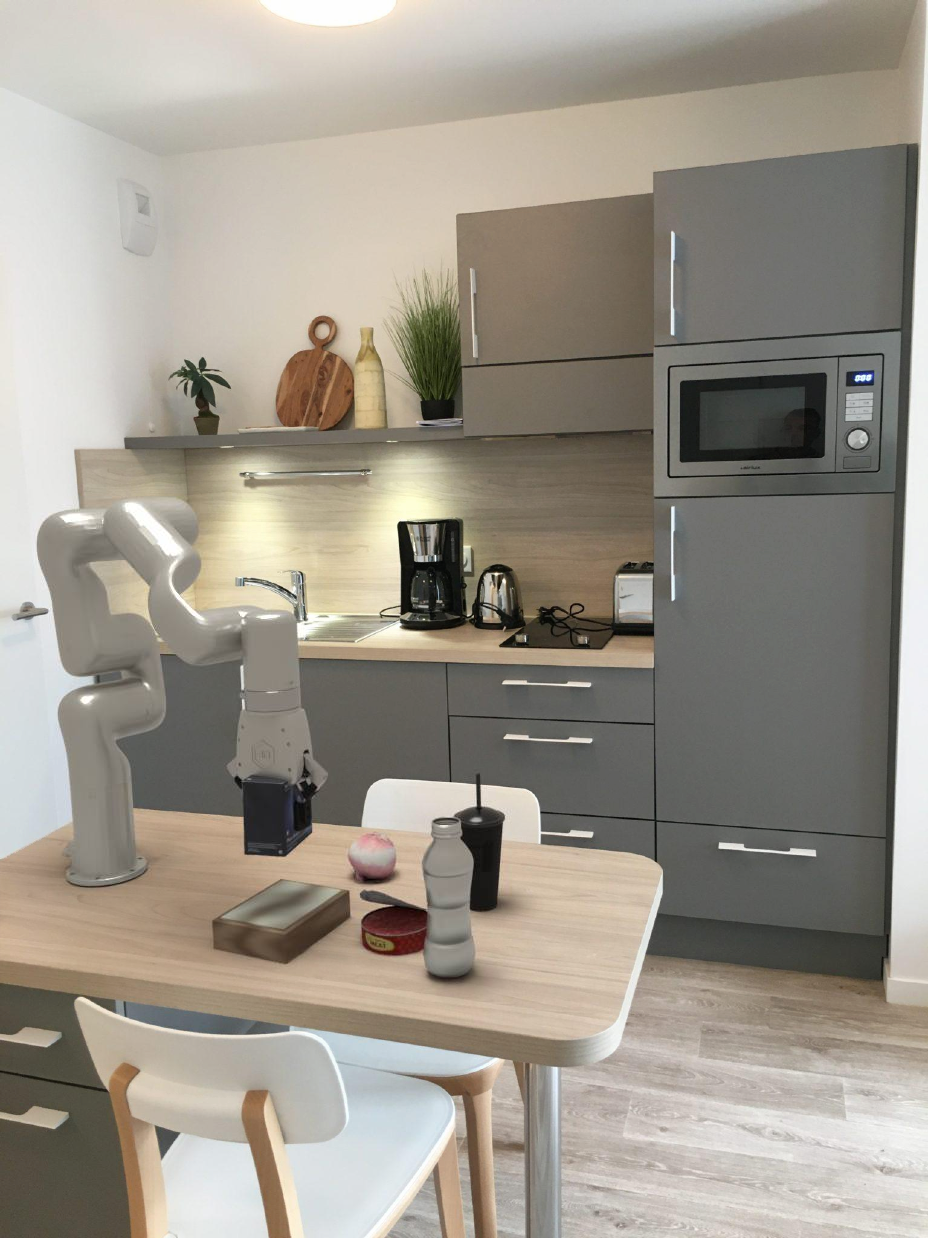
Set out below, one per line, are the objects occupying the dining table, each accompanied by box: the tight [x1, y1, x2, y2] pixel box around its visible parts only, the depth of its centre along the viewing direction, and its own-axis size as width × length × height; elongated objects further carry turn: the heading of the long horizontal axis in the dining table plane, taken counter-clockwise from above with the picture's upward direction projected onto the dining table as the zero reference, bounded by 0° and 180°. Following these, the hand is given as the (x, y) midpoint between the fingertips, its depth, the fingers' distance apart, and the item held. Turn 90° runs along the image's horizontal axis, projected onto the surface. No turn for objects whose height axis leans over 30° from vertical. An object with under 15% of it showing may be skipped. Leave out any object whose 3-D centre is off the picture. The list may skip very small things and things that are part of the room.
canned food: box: [359, 889, 427, 957], centre depth 138 cm, size 11×10×10 cm
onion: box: [347, 831, 397, 884], centre depth 161 cm, size 8×8×7 cm
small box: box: [241, 775, 313, 858], centre depth 140 cm, size 11×6×10 cm, turn 168°
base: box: [211, 878, 352, 964], centre depth 141 cm, size 12×16×4 cm
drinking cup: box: [452, 773, 506, 912], centre depth 148 cm, size 8×8×20 cm
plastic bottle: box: [421, 816, 476, 978], centre depth 127 cm, size 6×7×20 cm
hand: (279, 824), depth 140 cm, fingers closed on small box, 7 cm apart
